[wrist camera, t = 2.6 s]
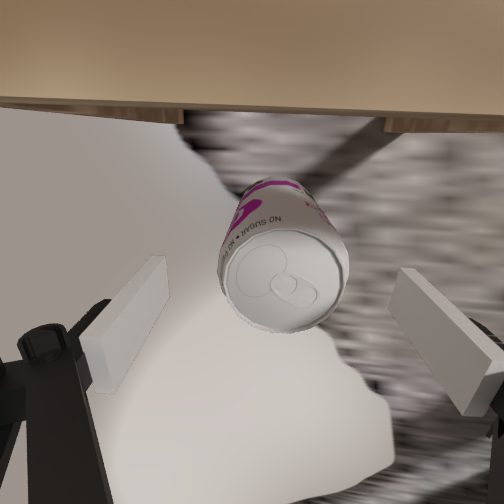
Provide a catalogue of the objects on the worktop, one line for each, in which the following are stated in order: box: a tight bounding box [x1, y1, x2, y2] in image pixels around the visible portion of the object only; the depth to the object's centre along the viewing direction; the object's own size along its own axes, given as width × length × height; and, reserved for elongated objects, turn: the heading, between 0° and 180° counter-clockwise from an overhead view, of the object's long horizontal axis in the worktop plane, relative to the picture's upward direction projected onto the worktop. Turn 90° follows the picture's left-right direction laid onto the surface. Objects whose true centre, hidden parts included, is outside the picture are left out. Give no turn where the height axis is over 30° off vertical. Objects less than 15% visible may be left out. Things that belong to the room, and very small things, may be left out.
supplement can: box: [217, 177, 349, 333], centre depth 22 cm, size 8×8×15 cm
